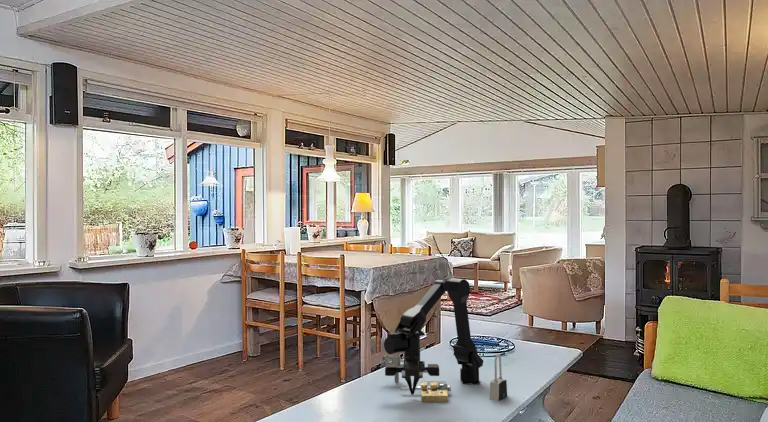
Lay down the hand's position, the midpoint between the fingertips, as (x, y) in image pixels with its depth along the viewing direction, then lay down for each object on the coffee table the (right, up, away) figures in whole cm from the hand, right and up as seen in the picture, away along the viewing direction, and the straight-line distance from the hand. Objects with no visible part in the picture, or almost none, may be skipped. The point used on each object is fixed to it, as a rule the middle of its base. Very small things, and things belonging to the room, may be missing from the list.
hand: (412, 394), depth 202 cm
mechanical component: (-5, -2, +20) cm, 20 cm away
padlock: (+30, -1, -1) cm, 30 cm away
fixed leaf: (+5, -1, +8) cm, 10 cm away
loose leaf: (+8, -1, +1) cm, 8 cm away
